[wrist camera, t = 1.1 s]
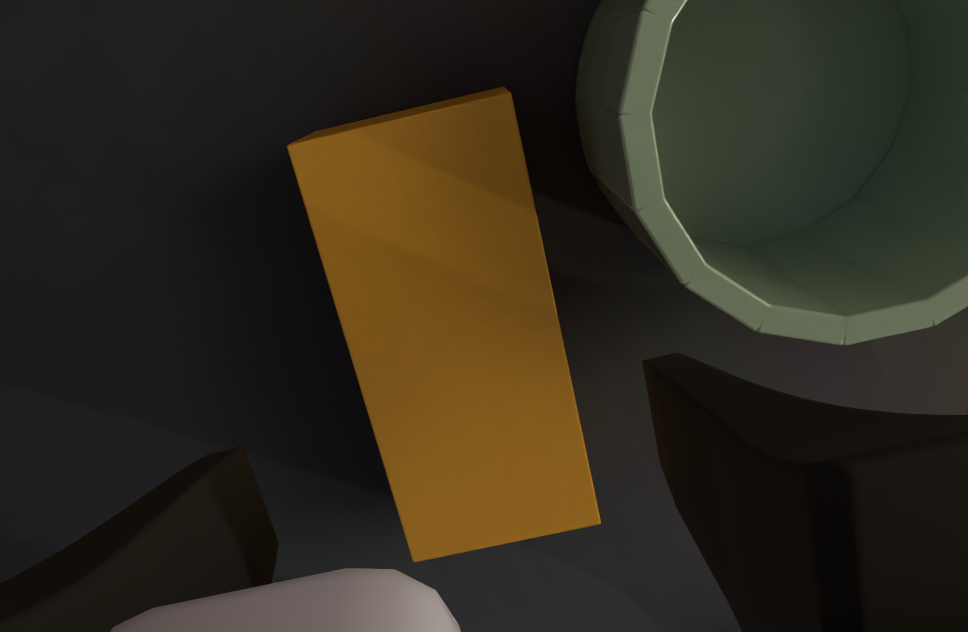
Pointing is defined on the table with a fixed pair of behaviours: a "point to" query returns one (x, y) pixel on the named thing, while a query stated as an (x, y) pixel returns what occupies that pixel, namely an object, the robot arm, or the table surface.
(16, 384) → the table surface
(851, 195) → the cup
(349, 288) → the block
